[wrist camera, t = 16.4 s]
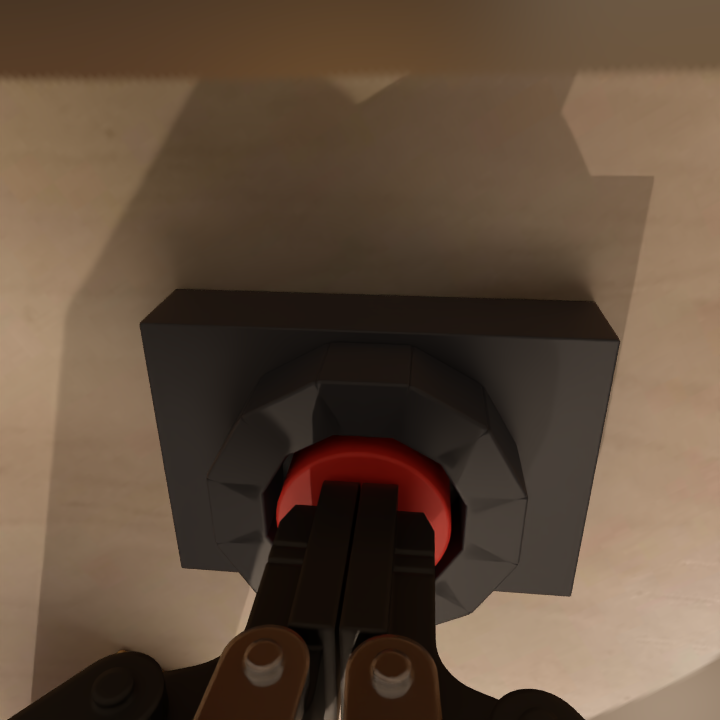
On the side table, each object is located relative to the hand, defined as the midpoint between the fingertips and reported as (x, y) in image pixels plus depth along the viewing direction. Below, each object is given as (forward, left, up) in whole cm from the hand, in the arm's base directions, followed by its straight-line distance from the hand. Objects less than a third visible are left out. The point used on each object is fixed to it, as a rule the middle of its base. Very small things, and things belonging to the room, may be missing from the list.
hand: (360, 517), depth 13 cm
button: (0, 0, -2) cm, 2 cm away
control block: (0, 0, -4) cm, 4 cm away
